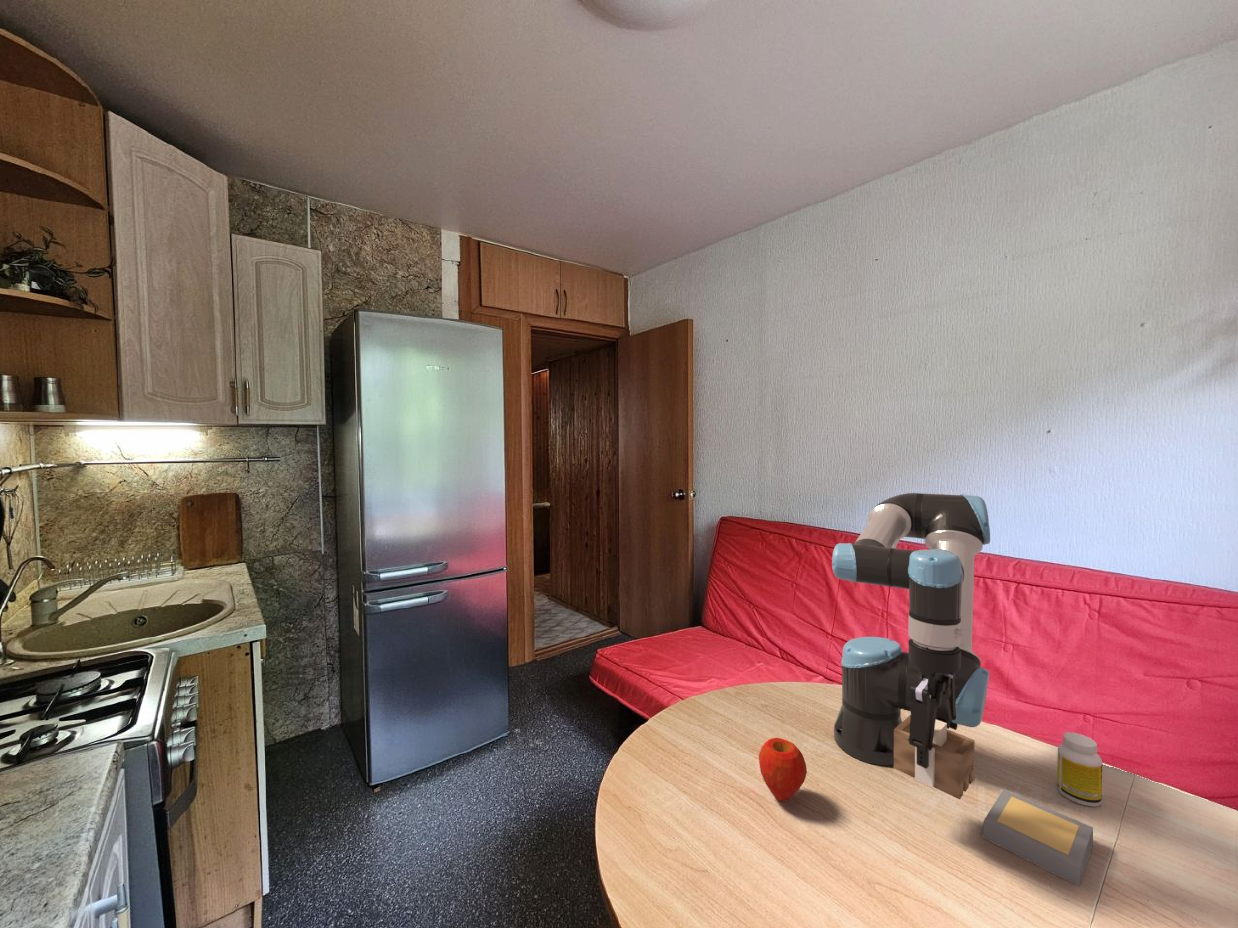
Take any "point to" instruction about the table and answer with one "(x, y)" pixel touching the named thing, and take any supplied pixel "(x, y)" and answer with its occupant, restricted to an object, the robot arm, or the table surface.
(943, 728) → the block
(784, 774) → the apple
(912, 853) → the table surface
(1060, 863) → the dock
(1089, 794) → the pill bottle
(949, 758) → the stained wood crate
